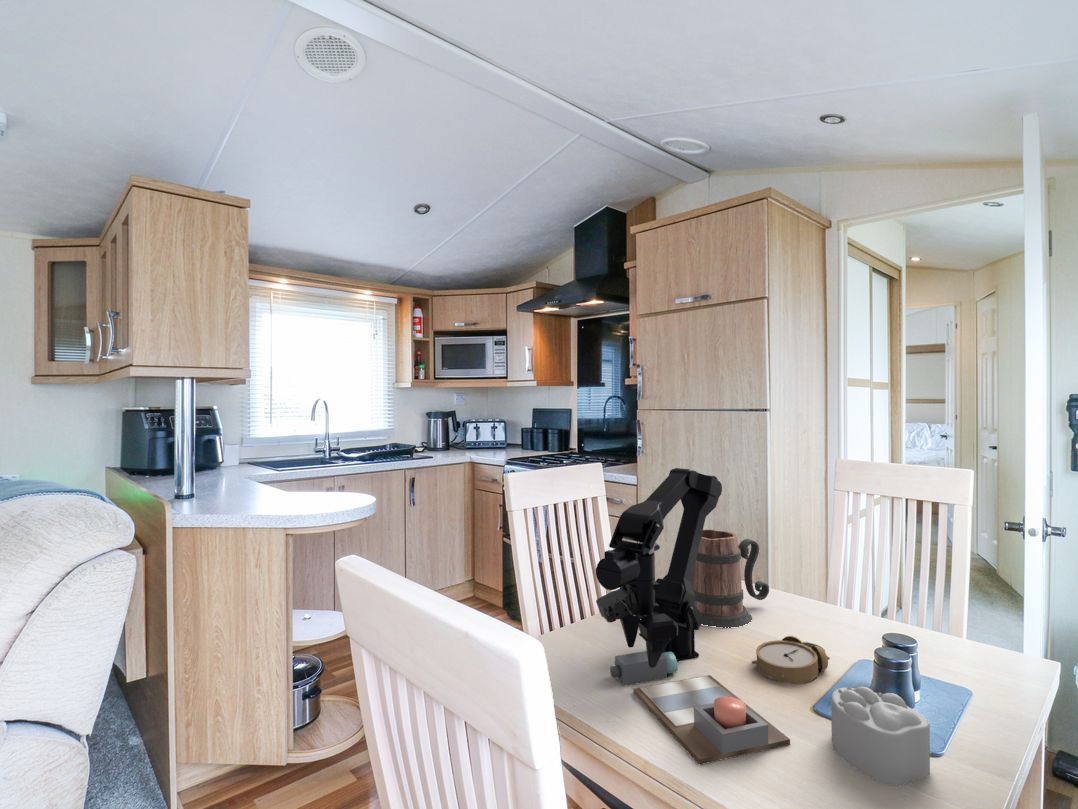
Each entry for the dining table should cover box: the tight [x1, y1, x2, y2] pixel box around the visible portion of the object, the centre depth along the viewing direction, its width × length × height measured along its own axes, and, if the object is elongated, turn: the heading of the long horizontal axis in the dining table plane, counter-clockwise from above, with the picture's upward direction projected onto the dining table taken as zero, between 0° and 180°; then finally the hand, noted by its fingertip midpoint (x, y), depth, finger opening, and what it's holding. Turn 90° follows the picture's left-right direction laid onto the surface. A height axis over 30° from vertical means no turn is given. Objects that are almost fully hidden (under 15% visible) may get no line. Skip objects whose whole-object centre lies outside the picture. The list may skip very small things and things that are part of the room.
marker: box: [610, 650, 678, 687], centre depth 114 cm, size 13×4×4 cm, turn 107°
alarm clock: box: [751, 635, 831, 684], centre depth 117 cm, size 11×5×15 cm
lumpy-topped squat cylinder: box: [830, 686, 931, 787], centre depth 88 cm, size 10×13×9 cm
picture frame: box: [633, 674, 791, 765], centre depth 100 cm, size 16×22×1 cm
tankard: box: [691, 529, 770, 629], centre depth 146 cm, size 24×17×20 cm
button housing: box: [694, 703, 768, 754], centre depth 93 cm, size 8×8×3 cm
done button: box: [714, 697, 746, 729], centre depth 93 cm, size 5×5×3 cm
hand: (641, 656), depth 114 cm, fingers open, 9 cm apart
